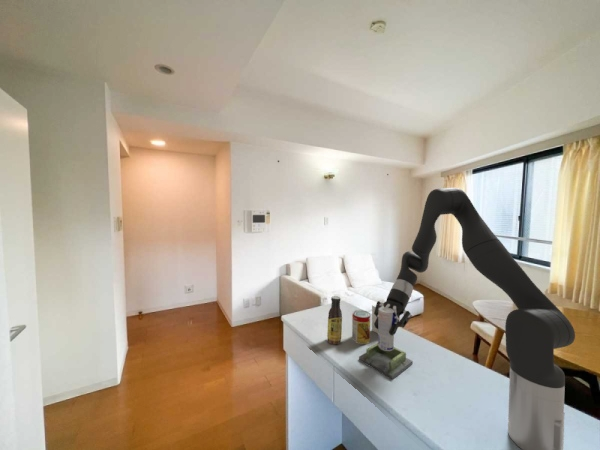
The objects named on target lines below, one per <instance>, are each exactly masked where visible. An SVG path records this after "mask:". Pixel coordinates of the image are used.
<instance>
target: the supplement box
mask: <svg viewBox="0 0 600 450" xmlns="http://www.w3.org/2000/svg"><path fill="white" fill-rule="evenodd" d="M383 307H384V306H383ZM375 308H376V304H373V305H372V306H371V331H372V332H374V333H376V334H377V335H378V329H376V328H375V325H374V323H375V321H376V319H377V317H376V315H375V314H374V311H375Z"/></svg>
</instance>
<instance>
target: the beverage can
mask: <svg viewBox="0 0 600 450" xmlns="http://www.w3.org/2000/svg"><path fill="white" fill-rule="evenodd" d="M392 324H394V310H393V309H391V308H387V307H380V308H379V311H378V334H377V335H378V336H377V343H378V347H379V348H380V349H382V350H384V351H392V350H393V349H394V347H395V346H394V345H395V344H394V343H395V342H394V341H395V340H394V339H395V334H393V336H392V335H390V334H389V331H390V329H391V326H392Z"/></svg>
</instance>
